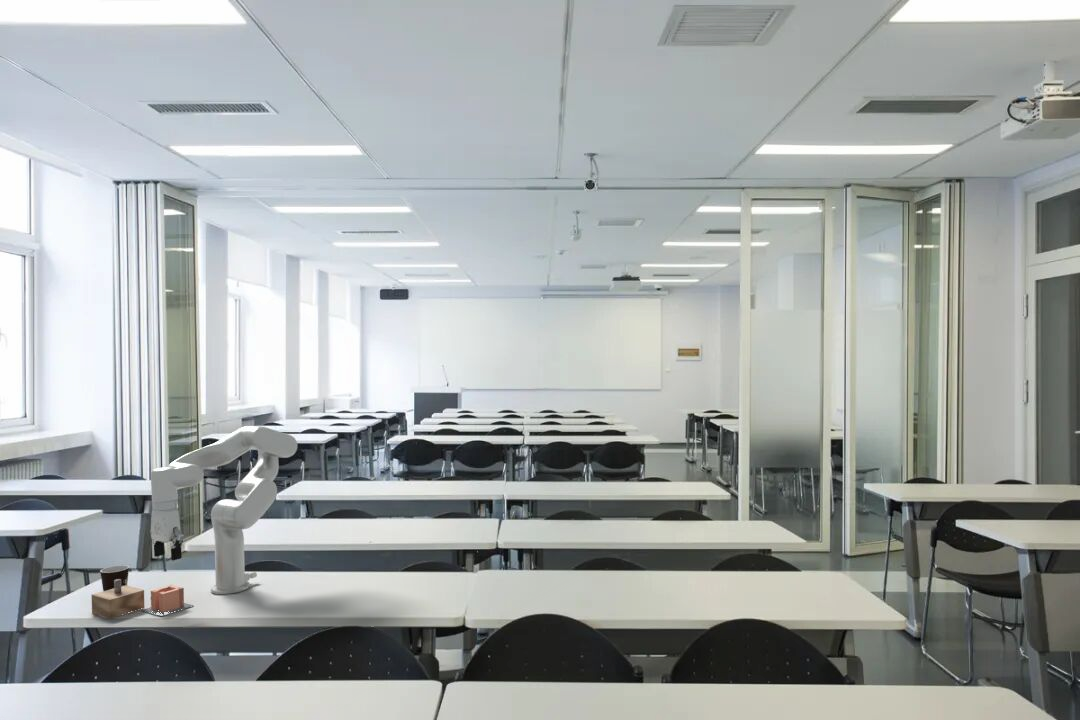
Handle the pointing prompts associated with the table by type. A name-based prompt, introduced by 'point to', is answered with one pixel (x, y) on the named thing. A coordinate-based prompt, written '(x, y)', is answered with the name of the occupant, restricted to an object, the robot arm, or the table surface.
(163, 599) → the c link
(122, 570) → the coffee mug
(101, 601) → the stand
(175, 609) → the mat
